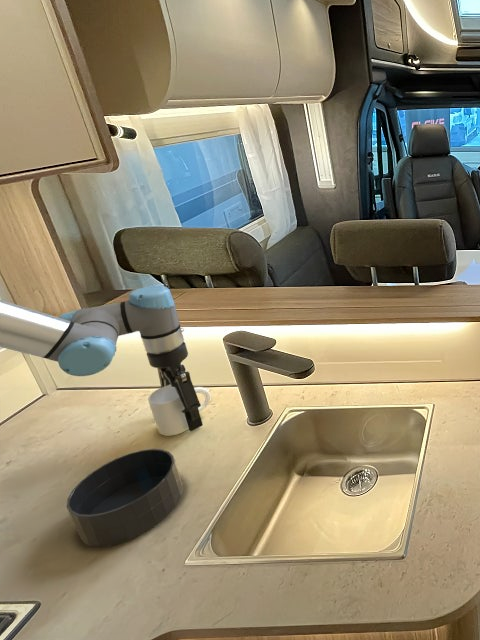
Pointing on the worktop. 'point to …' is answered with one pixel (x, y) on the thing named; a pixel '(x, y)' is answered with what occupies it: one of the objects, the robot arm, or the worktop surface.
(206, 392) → the mug
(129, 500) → the pot
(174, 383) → the robot arm
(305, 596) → the worktop surface
